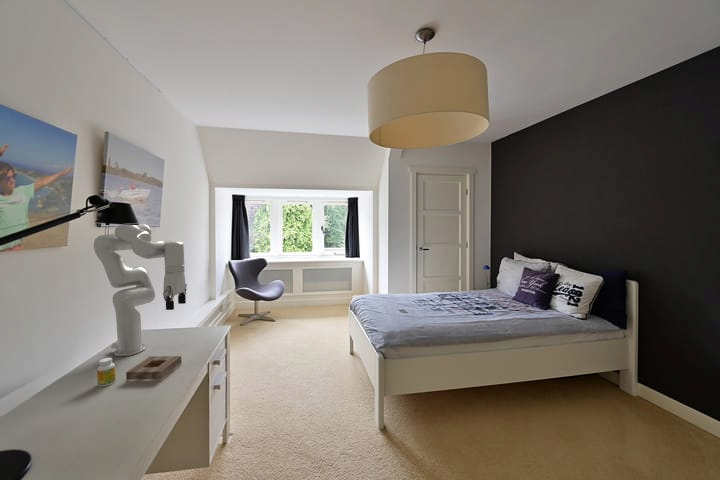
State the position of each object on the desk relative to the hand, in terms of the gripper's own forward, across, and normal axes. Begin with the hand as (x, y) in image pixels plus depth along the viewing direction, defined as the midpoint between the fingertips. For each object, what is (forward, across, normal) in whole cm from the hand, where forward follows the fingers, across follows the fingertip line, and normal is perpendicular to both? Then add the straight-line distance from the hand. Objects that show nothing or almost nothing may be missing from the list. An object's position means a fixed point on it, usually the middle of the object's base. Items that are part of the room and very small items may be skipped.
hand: (176, 306), depth 135 cm
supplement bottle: (+26, +16, -19) cm, 36 cm away
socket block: (+26, +9, -5) cm, 28 cm away
